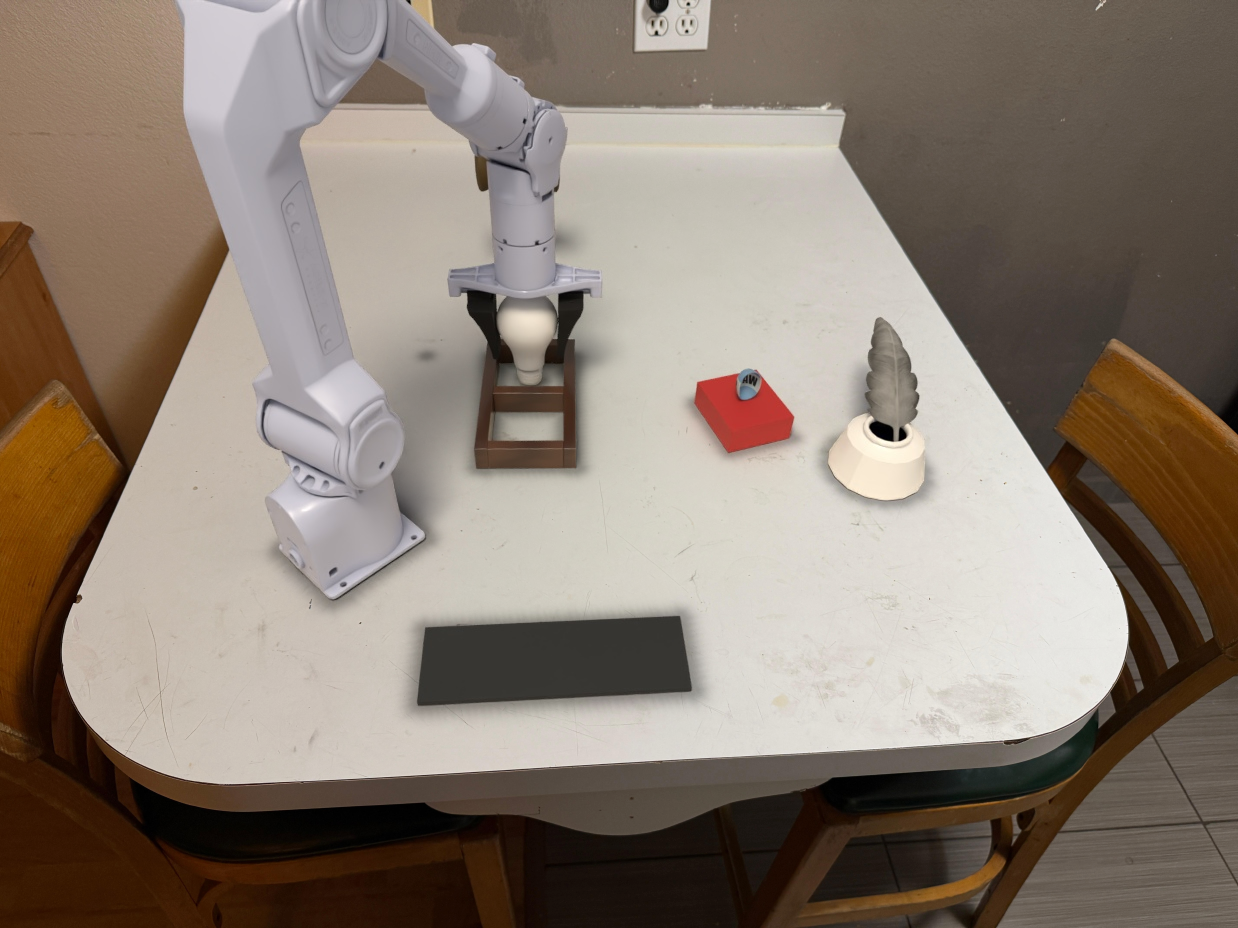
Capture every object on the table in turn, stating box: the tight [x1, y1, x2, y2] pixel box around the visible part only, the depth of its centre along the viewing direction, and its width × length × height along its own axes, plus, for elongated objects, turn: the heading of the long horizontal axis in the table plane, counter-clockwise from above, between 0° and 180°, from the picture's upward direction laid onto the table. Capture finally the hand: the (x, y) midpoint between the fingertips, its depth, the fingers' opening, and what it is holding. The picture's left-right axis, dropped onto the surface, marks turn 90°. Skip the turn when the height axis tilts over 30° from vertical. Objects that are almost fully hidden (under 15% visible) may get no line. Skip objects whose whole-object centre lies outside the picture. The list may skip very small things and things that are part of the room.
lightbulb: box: [496, 296, 558, 386], centre depth 82 cm, size 6×6×11 cm
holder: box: [473, 338, 577, 469], centre depth 82 cm, size 9×18×2 cm, turn 3°
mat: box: [416, 615, 693, 707], centre depth 62 cm, size 20×6×1 cm, turn 95°
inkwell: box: [827, 316, 926, 501], centre depth 79 cm, size 9×18×10 cm, turn 178°
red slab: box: [693, 368, 795, 453], centre depth 81 cm, size 8×7×6 cm
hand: (529, 353), depth 84 cm, fingers closed on lightbulb, 6 cm apart
